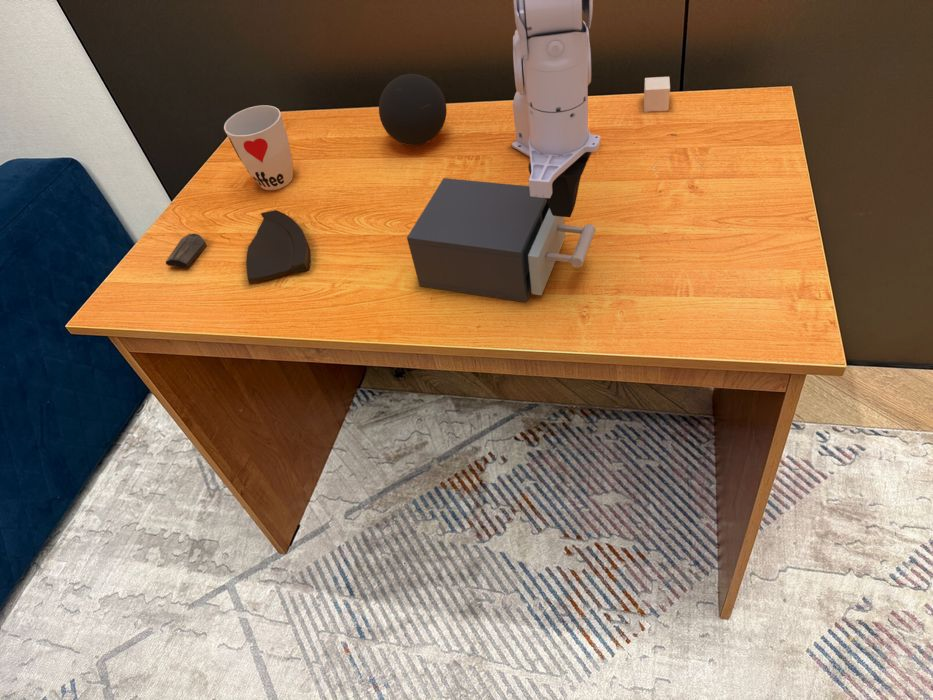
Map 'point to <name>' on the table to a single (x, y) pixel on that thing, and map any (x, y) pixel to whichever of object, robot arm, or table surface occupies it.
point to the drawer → (553, 249)
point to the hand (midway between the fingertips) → (562, 212)
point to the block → (186, 251)
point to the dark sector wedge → (277, 248)
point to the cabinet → (476, 238)
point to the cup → (262, 145)
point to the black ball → (412, 109)
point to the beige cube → (656, 94)
